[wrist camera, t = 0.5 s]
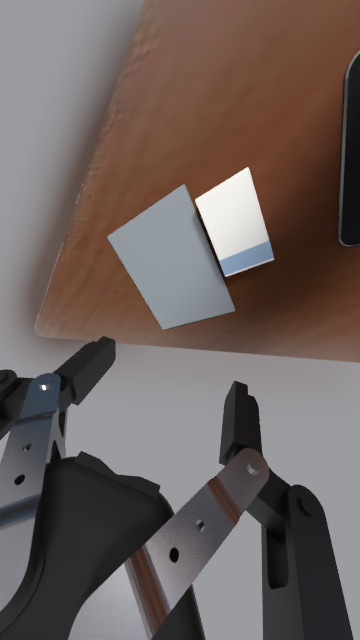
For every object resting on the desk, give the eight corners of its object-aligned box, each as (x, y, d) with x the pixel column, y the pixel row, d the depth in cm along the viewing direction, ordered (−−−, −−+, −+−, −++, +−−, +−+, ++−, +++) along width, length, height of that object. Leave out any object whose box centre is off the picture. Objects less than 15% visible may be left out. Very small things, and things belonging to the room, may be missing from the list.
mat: (184, 184, 23) (183, 184, 23) (235, 309, 30) (235, 311, 29) (108, 236, 30) (106, 236, 30) (163, 328, 37) (162, 329, 36)
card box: (200, 198, 24) (194, 199, 21) (249, 169, 21) (248, 166, 18) (228, 269, 27) (225, 277, 25) (273, 253, 24) (274, 259, 22)
